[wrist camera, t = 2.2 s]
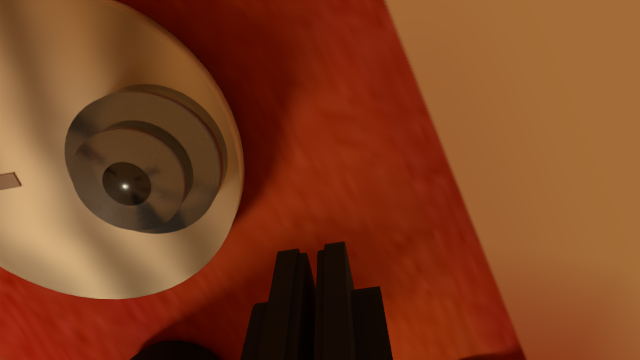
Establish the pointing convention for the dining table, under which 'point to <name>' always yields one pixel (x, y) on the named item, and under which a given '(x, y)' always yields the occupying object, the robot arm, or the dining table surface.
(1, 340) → the dining table surface
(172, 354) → the coffee jar
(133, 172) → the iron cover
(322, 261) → the robot arm
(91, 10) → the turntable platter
